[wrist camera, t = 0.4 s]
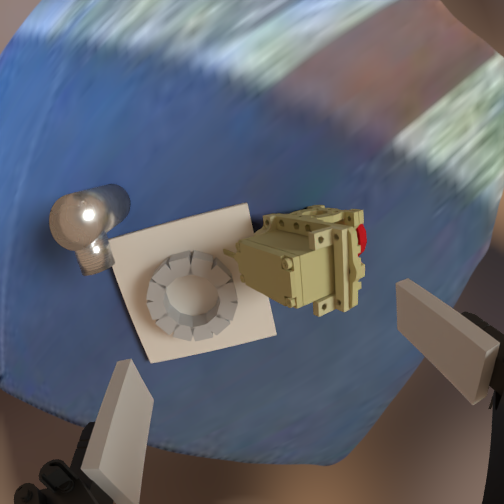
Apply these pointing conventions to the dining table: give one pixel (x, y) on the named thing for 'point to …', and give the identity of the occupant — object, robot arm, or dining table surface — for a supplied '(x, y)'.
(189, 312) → the plate
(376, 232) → the dining table surface
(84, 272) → the elbow
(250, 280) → the mechanical component
